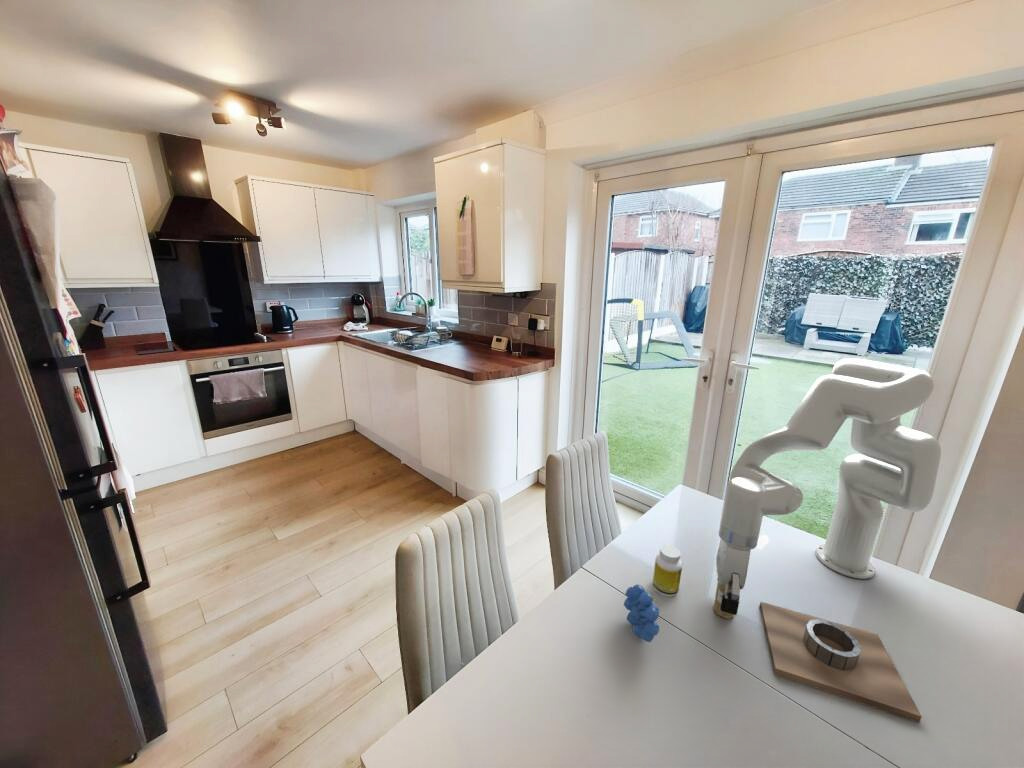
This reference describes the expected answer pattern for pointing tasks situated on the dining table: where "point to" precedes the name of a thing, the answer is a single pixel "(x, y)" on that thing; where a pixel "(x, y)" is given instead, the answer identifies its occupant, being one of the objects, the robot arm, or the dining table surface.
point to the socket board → (863, 684)
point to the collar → (825, 652)
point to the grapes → (642, 613)
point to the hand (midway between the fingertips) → (726, 596)
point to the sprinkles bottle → (718, 599)
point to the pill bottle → (667, 571)
